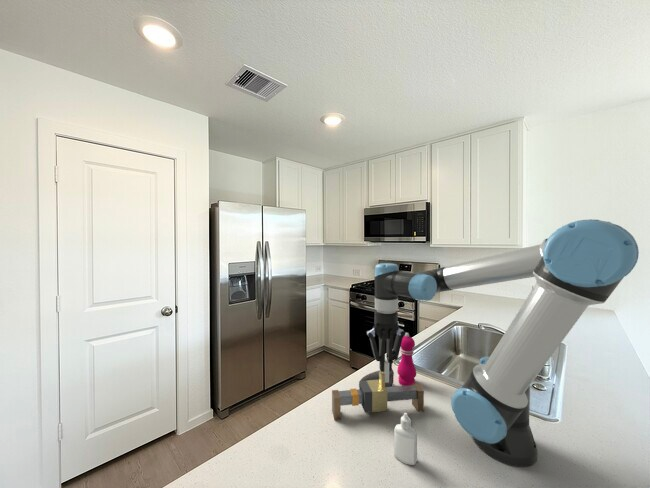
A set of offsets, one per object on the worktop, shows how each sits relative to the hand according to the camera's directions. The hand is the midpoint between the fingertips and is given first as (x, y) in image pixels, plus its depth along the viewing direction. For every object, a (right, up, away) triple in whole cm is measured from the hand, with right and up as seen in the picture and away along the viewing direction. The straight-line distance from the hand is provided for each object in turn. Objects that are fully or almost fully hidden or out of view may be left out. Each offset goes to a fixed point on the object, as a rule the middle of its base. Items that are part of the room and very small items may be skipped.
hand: (385, 380), depth 88 cm
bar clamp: (-3, -10, 0) cm, 10 cm away
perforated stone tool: (0, -10, +12) cm, 16 cm away
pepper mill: (+12, -10, +17) cm, 23 cm away
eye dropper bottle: (+1, -11, -19) cm, 22 cm away
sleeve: (-3, -8, 0) cm, 9 cm away
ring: (-7, -8, -1) cm, 11 cm away
